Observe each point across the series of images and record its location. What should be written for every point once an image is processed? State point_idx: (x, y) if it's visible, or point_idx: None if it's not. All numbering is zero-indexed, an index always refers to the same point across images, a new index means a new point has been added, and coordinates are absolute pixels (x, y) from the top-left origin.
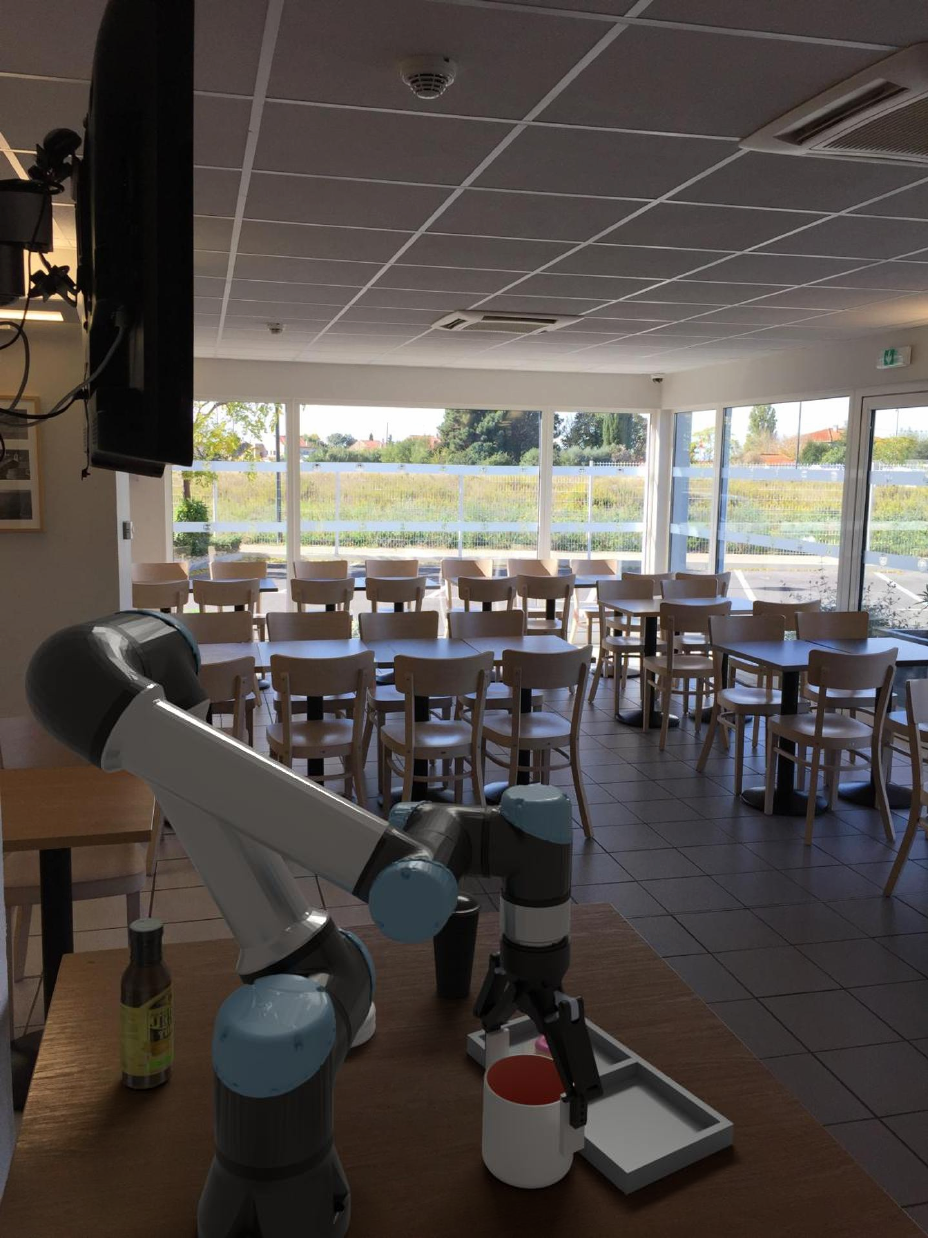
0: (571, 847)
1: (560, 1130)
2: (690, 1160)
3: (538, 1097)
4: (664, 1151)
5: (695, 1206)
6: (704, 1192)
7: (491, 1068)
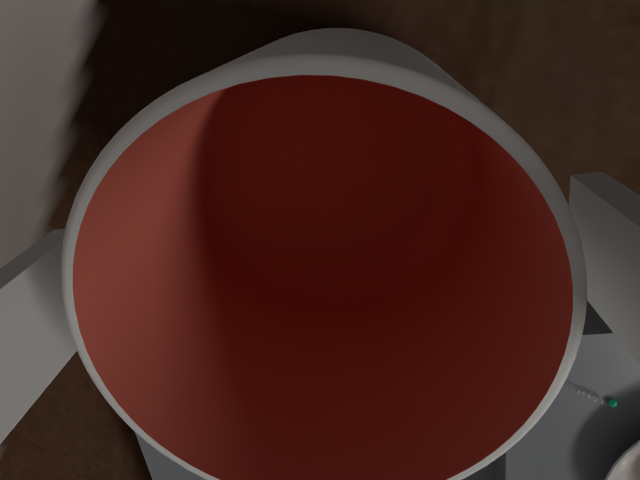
0: None
1: (14, 272)
2: None
3: (443, 327)
4: (161, 474)
5: (68, 424)
6: (103, 459)
7: (539, 194)
